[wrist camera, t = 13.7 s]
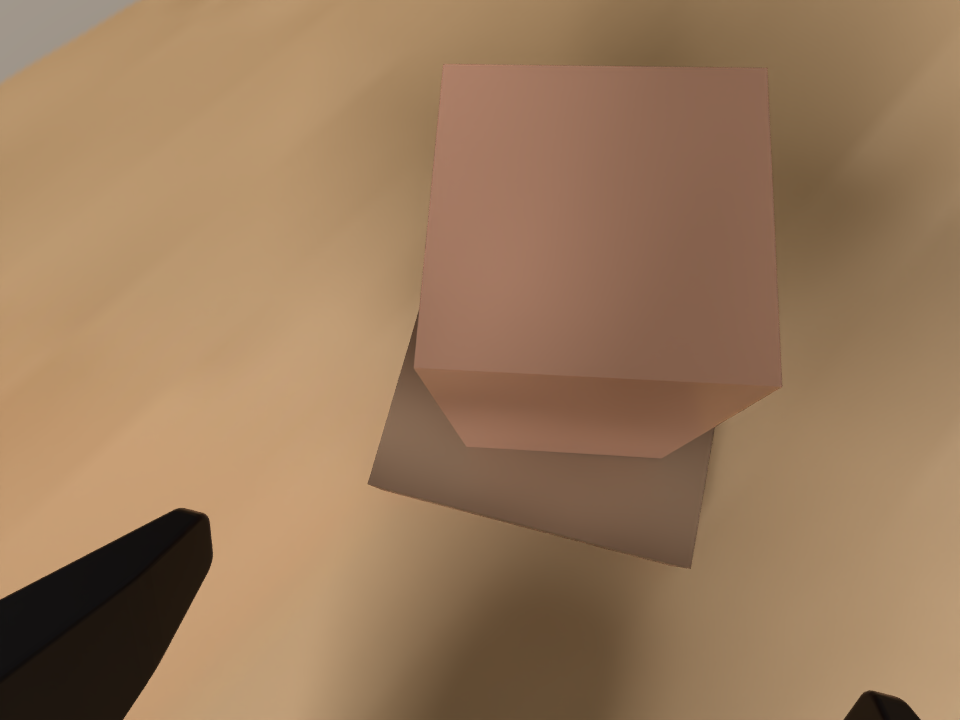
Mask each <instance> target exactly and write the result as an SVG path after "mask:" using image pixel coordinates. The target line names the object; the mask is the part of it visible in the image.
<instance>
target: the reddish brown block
mask: <svg viewBox="0 0 960 720" xmlns="http://www.w3.org/2000/svg"><path fill="white" fill-rule="evenodd" d="M414 369H415V371H416V372H417V374H418V375H419V377H420V378H421V380H422V381H423V383H424V384H425V386H426V387H427V389H428V390H429V392H430V393H431V395H432V396H433V398H434V399H435V401H436V402H437V404H438V405H439V407H440V408H441V410H442V411H443V413H444V414H445V416H446V417H447V419H448V420H449V422H450V423H451V425H452V426H453V428H454V429H455V431H456V432H457V434H458V435H459V437H460V438H461V440H462V441H463V443H464V444H465V445H466V447H480V448H496V449H513V450H529V451H546V452H562V453H579V454H595V455H612V456H628V457H644V458H661V459H662V458H663V457H665V456H667V455H668V454H670V453H672V452H673V451H675V450H677V449H678V448H680V447H682V446H683V445H685V444H687V443H688V442H690V441H692V440H694V439H695V438H697V437H699V436H700V435H702V434H704V433H705V432H707V431H709V430H710V429H712V428H714V427H715V426H717V425H719V424H720V423H722V422H724V421H725V420H727V419H729V418H731V417H732V416H734V415H736V414H737V413H739V412H741V411H742V410H744V409H746V408H747V407H749V406H751V405H752V404H754V403H756V402H757V401H759V400H761V399H762V398H764V397H766V396H768V395H769V394H771V393H773V392H774V391H776V390H778V389H779V388H781V387H782V373H781V352H780V330H779V309H778V287H777V266H776V245H775V223H774V202H773V180H772V159H771V137H770V116H769V95H768V73H767V68H732V67H650V66H567V65H485V64H443V72H442V83H441V93H440V103H439V113H438V124H437V134H436V144H435V154H434V165H433V175H432V185H431V195H430V205H429V216H428V226H427V236H426V246H425V257H424V267H423V277H422V287H421V298H420V308H419V318H418V328H417V338H416V349H415V359H414Z"/></svg>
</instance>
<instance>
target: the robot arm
mask: <svg viewBox="0 0 960 720" xmlns="http://www.w3.org/2000/svg"><path fill="white" fill-rule="evenodd" d="M212 558H213V549H212V539H211V530H210V521H209V518H208V517H207V515H206V514H204V513H201V512H197V511H194V510H190V509H186V508H178V509H175V510H173V511H171V512H169V513H167V514H165V515H163V516H161V517H159V518H157V519H155V520H153V521H151V522H149V523H148V524H146V525H144V526H142V527H140V528H138V529H136V530H134V531H132V532H130V533H128V534H126V535H124V536H122V537H120V538H118V539H117V540H115V541H113V542H111V543H109V544H107V545H105V546H103V547H101V548H99V549H97V550H95V551H93V552H91V553H89V554H88V555H86V556H84V557H82V558H80V559H78V560H76V561H74V562H72V563H70V564H68V565H66V566H64V567H62V568H60V569H58V570H57V571H55V572H53V573H51V574H49V575H47V576H45V577H43V578H41V579H39V580H37V581H35V582H33V583H31V584H29V585H28V586H26V587H24V588H22V589H20V590H18V591H16V592H14V593H12V594H10V595H8V596H6V597H4V598H2V599H0V720H123V719H124V717H125V716H126V714H127V713H128V711H129V710H130V708H131V707H132V705H133V704H134V702H135V701H136V699H137V698H138V696H139V695H140V693H141V692H142V690H143V689H144V687H145V686H146V684H147V683H148V681H149V679H150V678H151V676H152V675H153V673H154V672H155V670H156V668H157V667H158V665H159V663H160V661H161V659H162V658H163V656H164V654H165V652H166V650H167V648H168V647H169V645H170V643H171V641H172V639H173V637H174V635H175V633H176V631H177V630H178V628H179V626H180V624H181V622H182V620H183V618H184V616H185V615H186V613H187V611H188V609H189V607H190V605H191V603H192V601H193V599H194V598H195V596H196V594H197V592H198V590H199V588H200V586H201V584H202V582H203V581H204V579H205V577H206V575H207V573H208V571H209V569H210V566H211V563H212ZM844 720H920V718H919V717H918V716H917V715H916V714H915V712H914V711H913V710H912V709H911V707H910V706H909V705H908V704H907V703H906V702H904V701H903V700H902V699H900V698H898V697H895V696H891V695H887V694H884V693H880V692H876V691H870V690H869V691H867V692H864V693H863V694H862V695H861V696H860V698H859V699H858V700H857V702H856V703H855V705H854V706H853V707H852V709H851V710H850V712H849V713H848V714H847V716H846V717H845V719H844Z"/></svg>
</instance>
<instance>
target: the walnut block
mask: <svg viewBox="0 0 960 720" xmlns="http://www.w3.org/2000/svg"><path fill="white" fill-rule="evenodd" d="M418 318H419V312H418V315H417V319H416V322H415V325H414V329H413V332H412V336H411V339H410V342H409V346H408V349H407V353H406V356H405V359H404V363H403V366H402V369H401V373H400V376H399V380H398V383H397V386H396V390H395V393H394V397H393V400H392V403H391V407H390V410H389V414H388V417H387V420H386V424H385V427H384V430H383V434H382V437H381V441H380V444H379V447H378V451H377V454H376V458H375V461H374V464H373V468H372V471H371V474H370V478H369V481H368V484H369V485H371V486H374V487H376V488H379V489H381V490H384V491H388V492H392V493H396V494H399V495H403V496H407V497H411V498H415V499H419V500H422V501H426V502H430V503H434V504H438V505H441V506H445V507H449V508H453V509H457V510H460V511H464V512H468V513H472V514H476V515H480V516H483V517H487V518H491V519H495V520H499V521H502V522H506V523H510V524H514V525H518V526H521V527H525V528H529V529H533V530H537V531H540V532H544V533H548V534H552V535H556V536H560V537H563V538H567V539H571V540H575V541H579V542H582V543H586V544H590V545H594V546H598V547H601V548H605V549H609V550H613V551H617V552H621V553H624V554H628V555H632V556H636V557H640V558H643V559H647V560H651V561H655V562H659V563H662V564H666V565H670V566H676V567H683V568H690V569H691V564H692V558H693V552H694V546H695V540H696V535H697V529H698V523H699V517H700V511H701V505H702V499H703V493H704V487H705V481H706V475H707V469H708V464H709V458H710V452H711V446H712V440H713V434H714V428H715V427H714V428H712V429H710V430H709V431H707V432H705V433H704V434H702V435H700V436H699V437H697V438H695V439H694V440H692V441H690V442H688V443H687V444H685V445H683V446H682V447H680V448H678V449H677V450H675V451H673V452H672V453H670V454H668V455H667V456H665V457H663V458H662V459H661V458H644V457H628V456H612V455H595V454H579V453H562V452H546V451H529V450H513V449H496V448H480V447H466V445H465V444H464V443H463V441H462V440H461V438H460V437H459V435H458V434H457V432H456V431H455V429H454V428H453V426H452V425H451V423H450V422H449V420H448V419H447V417H446V416H445V414H444V413H443V411H442V410H441V408H440V407H439V405H438V404H437V402H436V401H435V399H434V398H433V396H432V395H431V393H430V392H429V390H428V389H427V387H426V386H425V384H424V383H423V381H422V380H421V378H420V377H419V375H418V374H417V372H416V371H415V369H414V359H415V349H416V338H417V328H418Z"/></svg>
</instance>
